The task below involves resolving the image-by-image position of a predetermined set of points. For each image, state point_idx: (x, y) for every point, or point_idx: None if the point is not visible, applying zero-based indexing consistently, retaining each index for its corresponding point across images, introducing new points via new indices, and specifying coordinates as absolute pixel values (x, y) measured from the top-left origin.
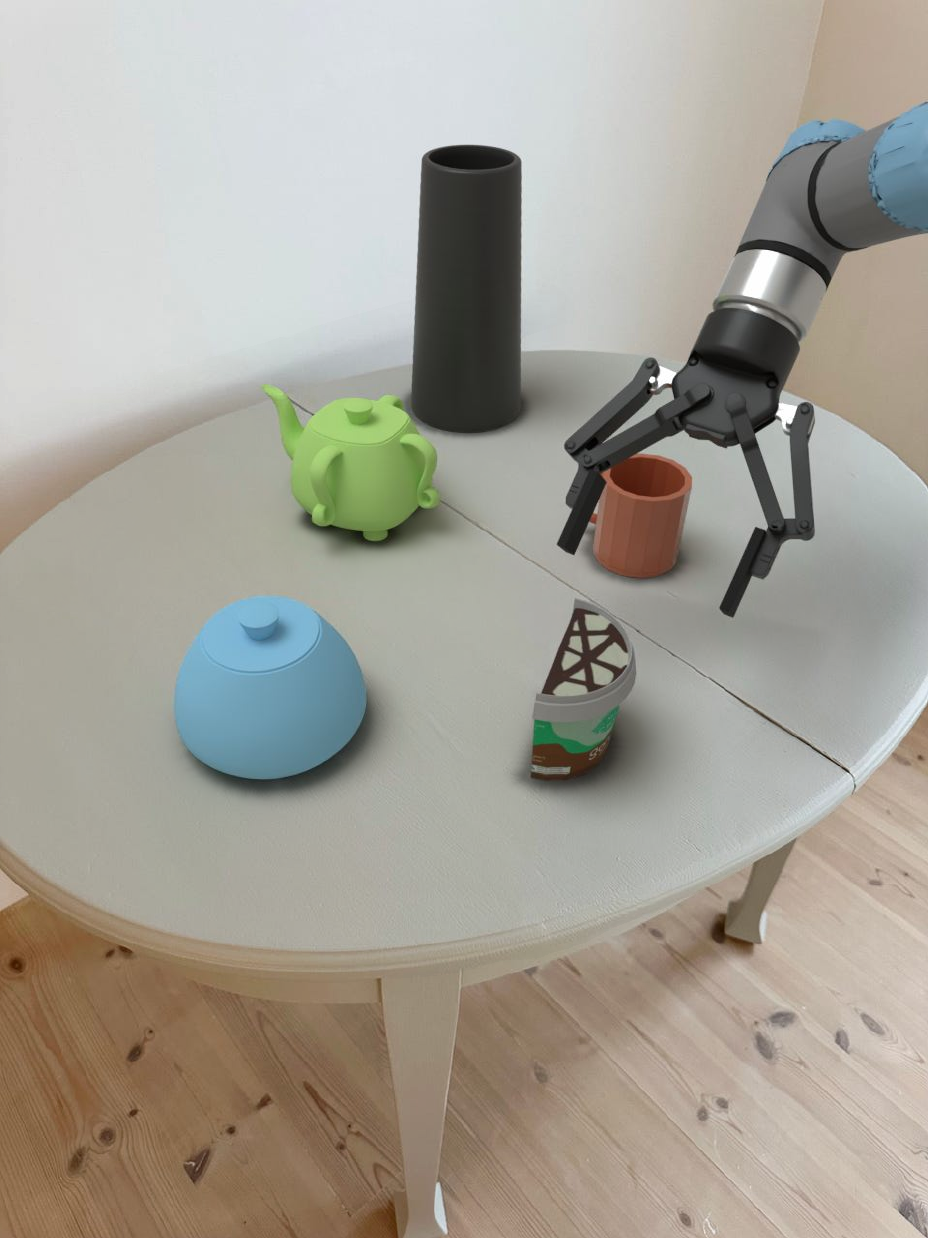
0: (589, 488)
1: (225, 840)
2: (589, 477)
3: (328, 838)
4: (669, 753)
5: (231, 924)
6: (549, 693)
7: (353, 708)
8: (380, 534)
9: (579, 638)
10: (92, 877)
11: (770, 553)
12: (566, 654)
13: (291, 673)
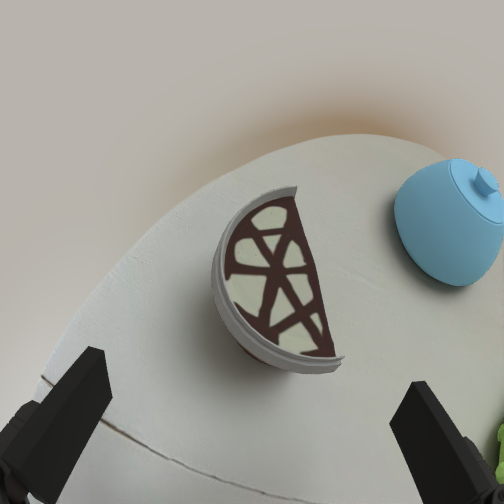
0: (465, 463)
1: (389, 168)
2: (480, 476)
3: (354, 181)
4: (175, 343)
5: (351, 139)
6: (288, 207)
7: (411, 220)
8: (501, 431)
9: (302, 300)
10: (407, 145)
11: (8, 429)
12: (301, 261)
13: (444, 169)
